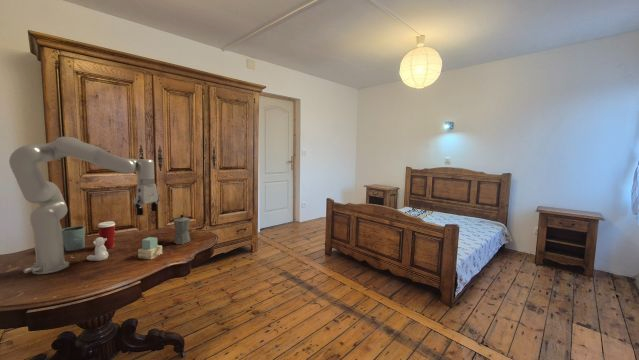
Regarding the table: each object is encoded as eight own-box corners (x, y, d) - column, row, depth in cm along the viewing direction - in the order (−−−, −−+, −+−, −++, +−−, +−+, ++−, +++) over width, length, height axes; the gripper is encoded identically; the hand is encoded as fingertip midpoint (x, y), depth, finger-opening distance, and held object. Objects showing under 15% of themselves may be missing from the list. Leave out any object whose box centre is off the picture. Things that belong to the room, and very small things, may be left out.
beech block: (151, 259, 142) (151, 250, 141) (138, 258, 143) (137, 249, 143) (162, 254, 150) (162, 245, 149) (149, 252, 151) (149, 244, 150)
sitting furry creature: (107, 254, 147) (106, 233, 146) (115, 257, 143) (114, 236, 142) (86, 260, 139) (84, 238, 137) (93, 263, 135) (92, 241, 133)
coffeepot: (190, 244, 165) (190, 216, 163) (173, 246, 161) (172, 217, 159) (190, 237, 179) (189, 211, 177) (174, 238, 174) (173, 212, 172)
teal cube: (150, 249, 143) (149, 240, 142) (142, 248, 144) (142, 239, 143) (157, 246, 148) (157, 237, 147) (149, 245, 149) (149, 237, 148)
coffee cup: (120, 245, 160) (118, 221, 158) (108, 250, 152) (106, 225, 150) (107, 244, 161) (106, 220, 159) (94, 249, 153) (93, 224, 151)
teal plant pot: (77, 251, 150) (76, 230, 148) (57, 251, 148) (55, 231, 147) (90, 244, 160) (89, 225, 158) (71, 245, 158) (70, 225, 157)
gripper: (139, 184, 133) (140, 217, 135) (164, 180, 150) (165, 210, 152) (126, 183, 134) (127, 216, 136) (152, 180, 151) (153, 209, 153)
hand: (147, 213), depth 144 cm, fingers open, 9 cm apart
